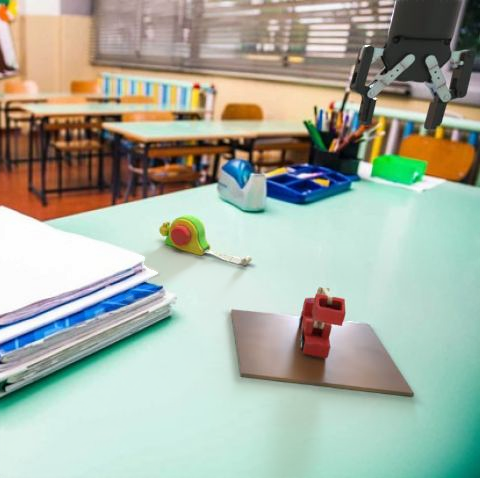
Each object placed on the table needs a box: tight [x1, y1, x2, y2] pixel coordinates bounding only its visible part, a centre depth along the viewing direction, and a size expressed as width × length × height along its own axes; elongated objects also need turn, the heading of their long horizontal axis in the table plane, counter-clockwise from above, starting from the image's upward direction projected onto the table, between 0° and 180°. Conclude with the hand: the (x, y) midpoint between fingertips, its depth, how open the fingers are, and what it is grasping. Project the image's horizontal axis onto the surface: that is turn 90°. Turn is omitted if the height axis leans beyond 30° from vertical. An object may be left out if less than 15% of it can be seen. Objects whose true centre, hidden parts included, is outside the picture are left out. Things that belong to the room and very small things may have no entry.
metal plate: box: [230, 308, 415, 397], centre depth 66 cm, size 20×16×1 cm
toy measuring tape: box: [159, 214, 253, 266], centre depth 95 cm, size 6×20×7 cm, turn 55°
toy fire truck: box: [299, 286, 347, 358], centre depth 64 cm, size 3×14×10 cm, turn 163°
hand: (397, 127), depth 69 cm, fingers open, 8 cm apart
